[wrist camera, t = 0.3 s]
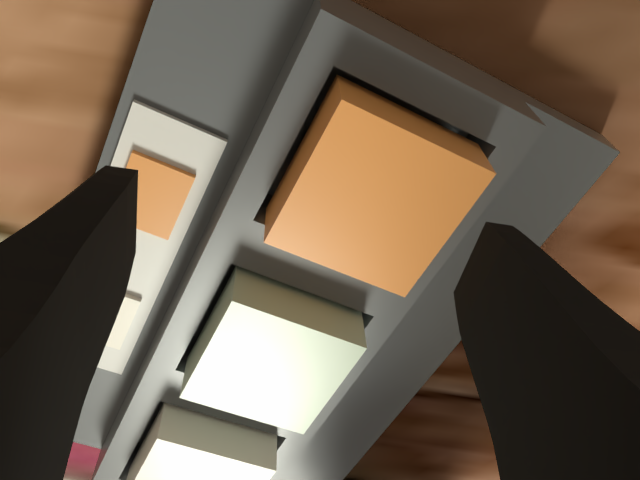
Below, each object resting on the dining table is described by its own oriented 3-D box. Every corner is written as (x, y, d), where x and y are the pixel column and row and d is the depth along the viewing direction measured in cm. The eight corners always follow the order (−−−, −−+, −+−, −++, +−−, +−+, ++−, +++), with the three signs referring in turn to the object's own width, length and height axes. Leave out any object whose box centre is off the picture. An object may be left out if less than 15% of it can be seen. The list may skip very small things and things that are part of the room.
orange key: (395, 261, 21) (404, 297, 19) (265, 208, 20) (263, 242, 18) (478, 143, 19) (496, 173, 17) (336, 74, 17) (341, 99, 16)
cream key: (233, 493, 28) (229, 534, 27) (129, 467, 27) (118, 508, 25) (277, 430, 26) (276, 471, 24) (166, 398, 24) (156, 438, 23)
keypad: (319, 480, 33) (322, 544, 30) (22, 399, 29) (-10, 464, 26) (601, 134, 22) (650, 181, 19) (188, -87, 18) (167, -71, 15)
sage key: (302, 394, 25) (303, 434, 23) (187, 358, 23) (179, 397, 22) (361, 310, 22) (366, 348, 21) (236, 264, 21) (231, 300, 19)
